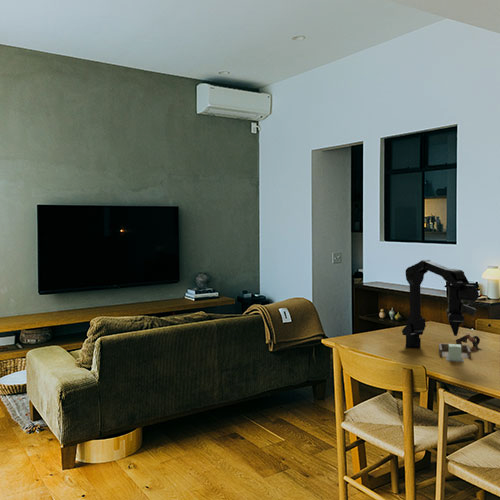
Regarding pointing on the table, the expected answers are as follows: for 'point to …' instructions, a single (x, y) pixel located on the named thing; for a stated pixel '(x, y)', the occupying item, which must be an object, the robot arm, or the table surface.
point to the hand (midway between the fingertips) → (454, 333)
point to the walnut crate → (464, 350)
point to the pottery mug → (472, 339)
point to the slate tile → (454, 360)
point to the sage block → (454, 352)
